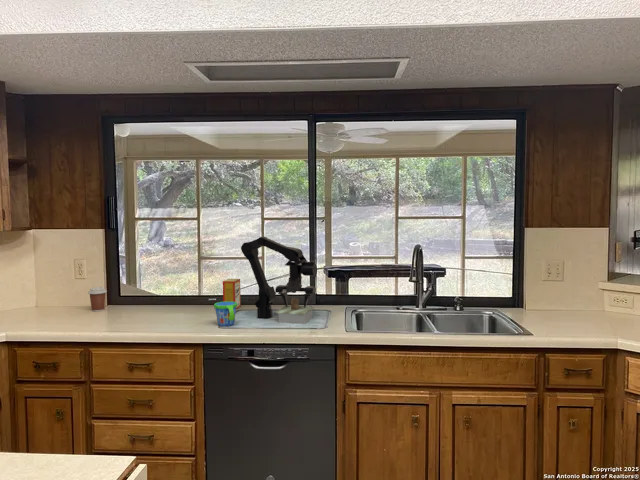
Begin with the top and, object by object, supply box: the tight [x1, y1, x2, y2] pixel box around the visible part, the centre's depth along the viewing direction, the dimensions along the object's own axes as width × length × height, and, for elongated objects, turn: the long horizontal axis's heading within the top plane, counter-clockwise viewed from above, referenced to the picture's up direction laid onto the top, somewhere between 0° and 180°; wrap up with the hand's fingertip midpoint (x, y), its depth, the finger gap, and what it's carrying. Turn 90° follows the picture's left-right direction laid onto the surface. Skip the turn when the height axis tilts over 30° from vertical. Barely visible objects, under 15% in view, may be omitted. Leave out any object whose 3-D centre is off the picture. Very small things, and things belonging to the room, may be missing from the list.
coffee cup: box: [87, 286, 108, 312], centre depth 253 cm, size 9×9×12 cm
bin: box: [278, 309, 313, 325], centre depth 226 cm, size 13×13×5 cm
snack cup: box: [213, 301, 237, 327], centre depth 220 cm, size 16×10×10 cm
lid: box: [275, 297, 314, 315], centre depth 226 cm, size 14×14×6 cm
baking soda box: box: [222, 278, 242, 310], centre depth 256 cm, size 10×6×16 cm
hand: (295, 307), depth 226 cm, fingers open, 9 cm apart
